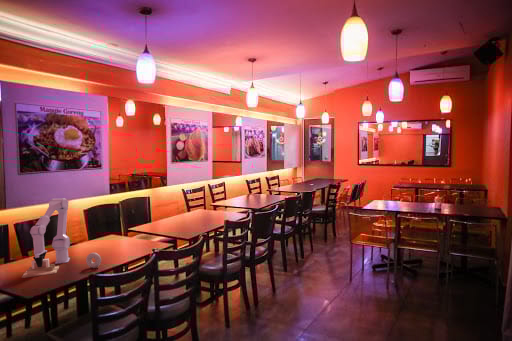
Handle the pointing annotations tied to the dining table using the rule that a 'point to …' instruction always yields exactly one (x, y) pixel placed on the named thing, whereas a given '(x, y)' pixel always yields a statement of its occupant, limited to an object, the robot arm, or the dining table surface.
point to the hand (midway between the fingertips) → (40, 265)
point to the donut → (97, 258)
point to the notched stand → (41, 271)
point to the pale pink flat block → (44, 264)
